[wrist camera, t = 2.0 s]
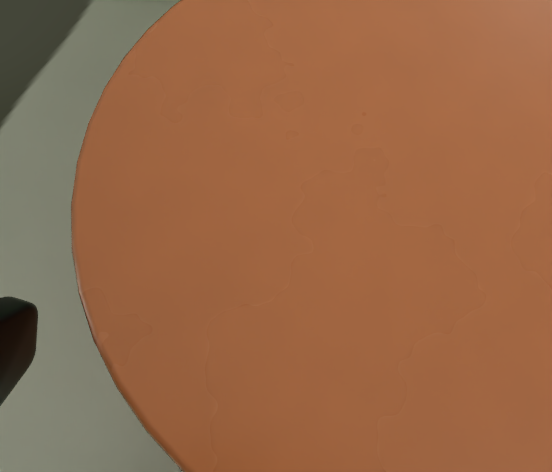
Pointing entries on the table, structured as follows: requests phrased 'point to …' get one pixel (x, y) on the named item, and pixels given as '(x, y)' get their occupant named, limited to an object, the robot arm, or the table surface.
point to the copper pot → (327, 234)
